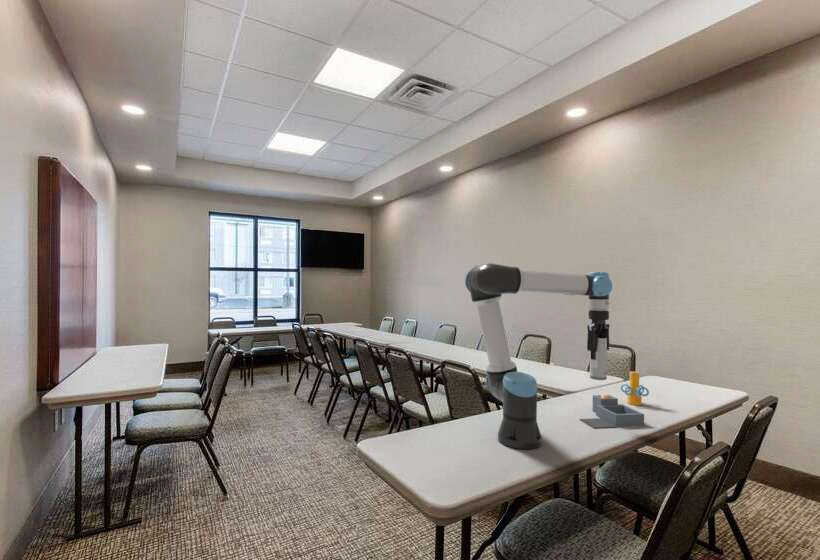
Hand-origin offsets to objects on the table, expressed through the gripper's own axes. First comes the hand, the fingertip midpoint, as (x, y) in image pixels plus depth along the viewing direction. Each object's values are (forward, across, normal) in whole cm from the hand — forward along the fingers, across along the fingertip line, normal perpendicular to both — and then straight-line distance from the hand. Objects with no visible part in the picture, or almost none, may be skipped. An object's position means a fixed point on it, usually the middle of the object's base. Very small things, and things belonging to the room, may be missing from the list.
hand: (598, 366), depth 162 cm
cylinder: (+23, +42, +4) cm, 48 cm away
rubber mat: (+23, 0, 0) cm, 23 cm away
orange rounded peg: (+23, +16, +5) cm, 28 cm away
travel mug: (+5, 0, 0) cm, 5 cm away
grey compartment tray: (+23, +13, 0) cm, 27 cm away
